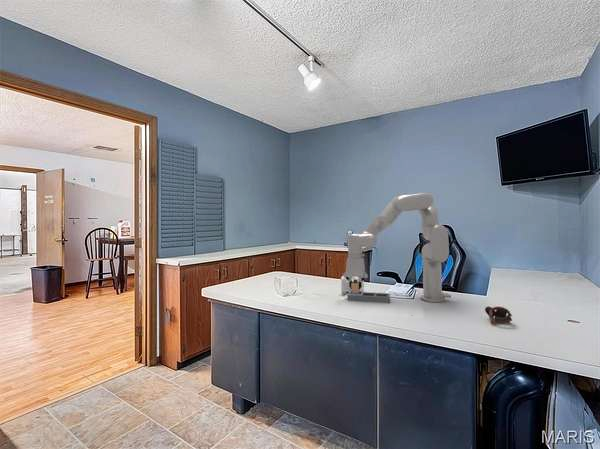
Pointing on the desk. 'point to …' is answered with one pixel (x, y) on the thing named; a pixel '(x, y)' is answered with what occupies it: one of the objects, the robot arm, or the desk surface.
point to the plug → (355, 287)
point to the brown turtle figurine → (498, 315)
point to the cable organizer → (345, 284)
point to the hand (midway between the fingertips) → (355, 288)
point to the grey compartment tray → (369, 297)
